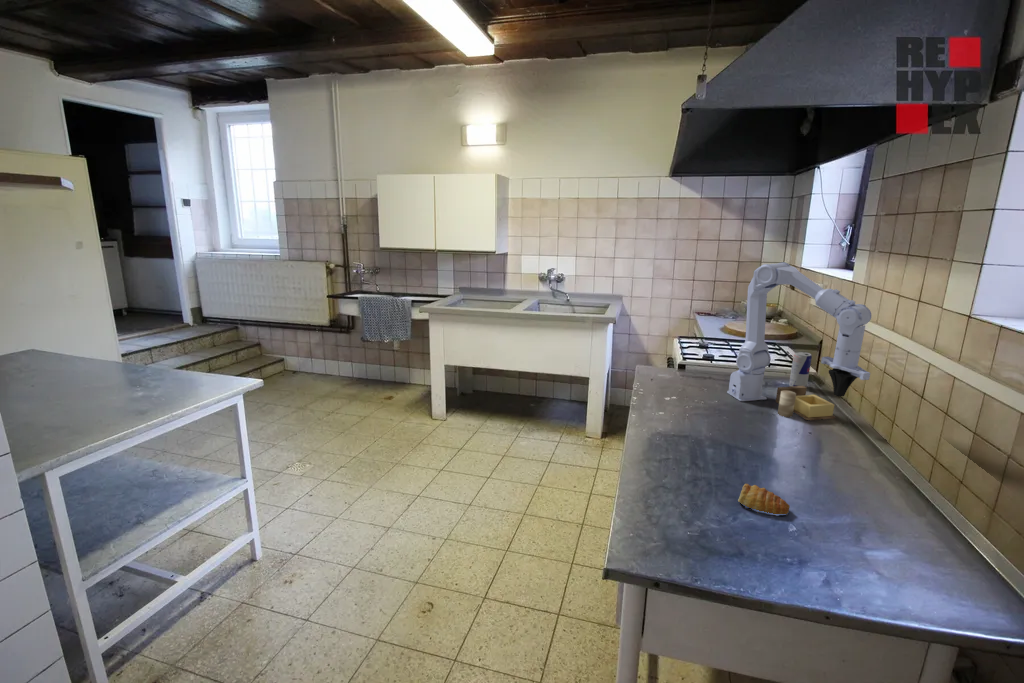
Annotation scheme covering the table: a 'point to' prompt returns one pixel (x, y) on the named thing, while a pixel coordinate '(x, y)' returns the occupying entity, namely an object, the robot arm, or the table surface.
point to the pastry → (762, 500)
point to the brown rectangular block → (799, 391)
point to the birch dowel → (786, 403)
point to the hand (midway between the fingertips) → (839, 395)
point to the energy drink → (800, 369)
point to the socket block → (813, 406)
